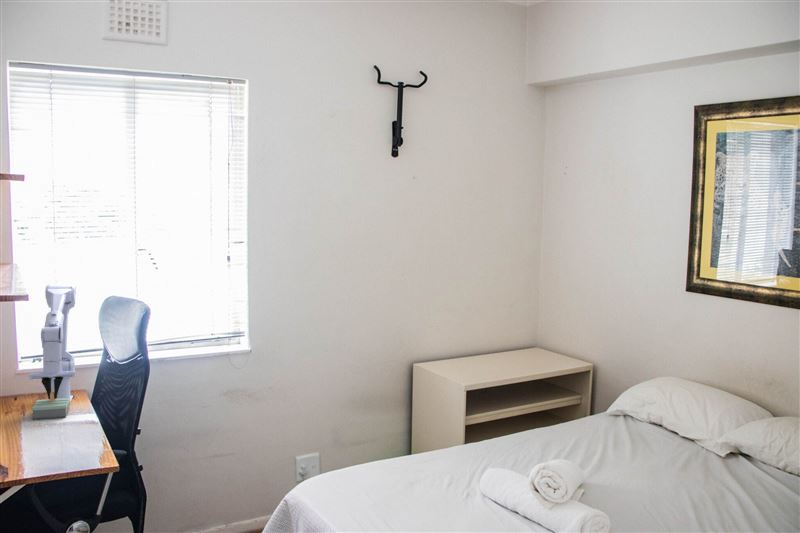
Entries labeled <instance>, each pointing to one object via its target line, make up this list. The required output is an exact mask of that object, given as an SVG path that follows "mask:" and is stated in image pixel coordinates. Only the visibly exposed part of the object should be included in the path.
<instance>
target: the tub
mask: <svg viewBox="0 0 800 533" xmlns="http://www.w3.org/2000/svg"><path fill="white" fill-rule="evenodd" d="M70 403H71V402H70ZM70 403H69V404H68V406H67V408H64V409H49V410H34V411H32V420H35V421H36V420H46V419H47V420H48V419H49V420H50V419H60V418H61V419H62V418H63V419H64V418H66V417H67V415H68V414H69V411H70V407H71V406H70Z"/></svg>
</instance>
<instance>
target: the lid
mask: <svg viewBox="0 0 800 533" xmlns="http://www.w3.org/2000/svg"><path fill="white" fill-rule="evenodd" d="M69 402H70V398H60V399H54V391H51V393H50V399H48V398H46V399H37V400H36V401H35V403H34V405H33V406H32V407H31V411H32V412H33V411H34V410H49V409H64V408H67V406H68V404H69ZM70 403H71V402H70Z"/></svg>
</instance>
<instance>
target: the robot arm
mask: <svg viewBox="0 0 800 533" xmlns="http://www.w3.org/2000/svg"><path fill="white" fill-rule="evenodd" d="M76 288H77V287H76V285H75V284H47V285H46V286H45V292H44V293H45V300H46V304H47V306H48V308H50V311H49V312H48V313H46V317H45V322H44V327H42V328H41V330H40V340H41V348H42V361H43V362H42V370H43V371H39V372H30V373H29V374H28V380H30V381H31V380H41V384H42V385H43V387H44V390H45V391H46V393H47V399H50V393H51V391H54V399H60V398H70V402H69V403H71V402H72V399H73V398H74V395H72V394H71V378H76V375H77V374H76V372H77V371H76V370H75V369H76V368H75V357H74V355H73V354H71V353H70V352H69V351H67V348H68V347H67V346H68V345H67V344H68V328H69V327H68V324H69V322H68V321H69V313H70V309H72V308H75V306H76V294H77V291H76V290H77V289H76Z"/></svg>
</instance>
